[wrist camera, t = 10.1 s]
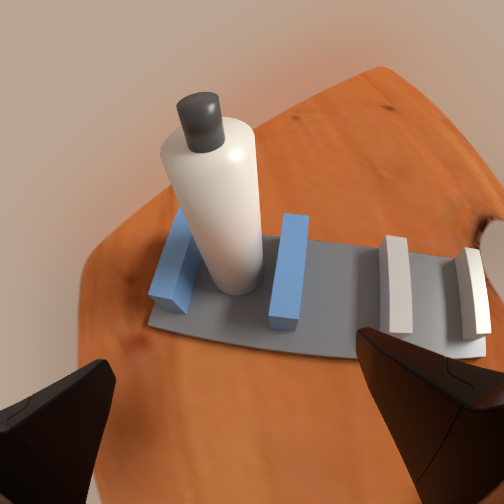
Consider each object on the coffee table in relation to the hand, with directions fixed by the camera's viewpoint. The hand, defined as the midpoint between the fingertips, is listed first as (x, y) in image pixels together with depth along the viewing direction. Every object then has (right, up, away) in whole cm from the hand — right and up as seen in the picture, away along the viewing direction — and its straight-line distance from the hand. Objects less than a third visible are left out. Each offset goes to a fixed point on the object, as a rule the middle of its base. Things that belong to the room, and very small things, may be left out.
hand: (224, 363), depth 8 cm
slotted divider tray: (+8, 0, +11) cm, 14 cm away
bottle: (0, +2, +12) cm, 13 cm away
